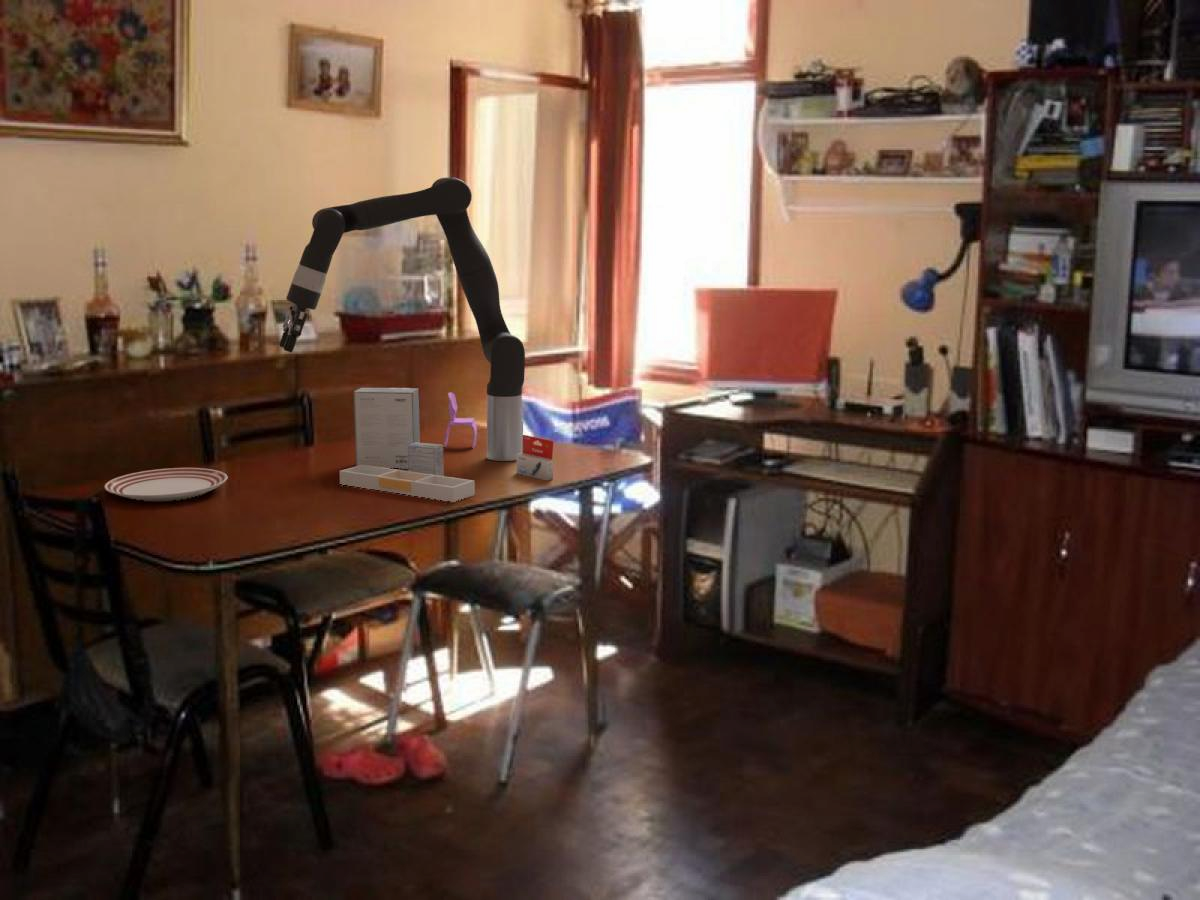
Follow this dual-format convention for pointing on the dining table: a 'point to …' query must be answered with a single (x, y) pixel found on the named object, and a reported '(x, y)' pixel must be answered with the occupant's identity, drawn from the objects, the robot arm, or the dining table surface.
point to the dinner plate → (166, 484)
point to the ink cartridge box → (536, 458)
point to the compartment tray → (408, 483)
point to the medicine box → (426, 458)
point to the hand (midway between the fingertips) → (285, 349)
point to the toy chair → (458, 419)
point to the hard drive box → (385, 425)
